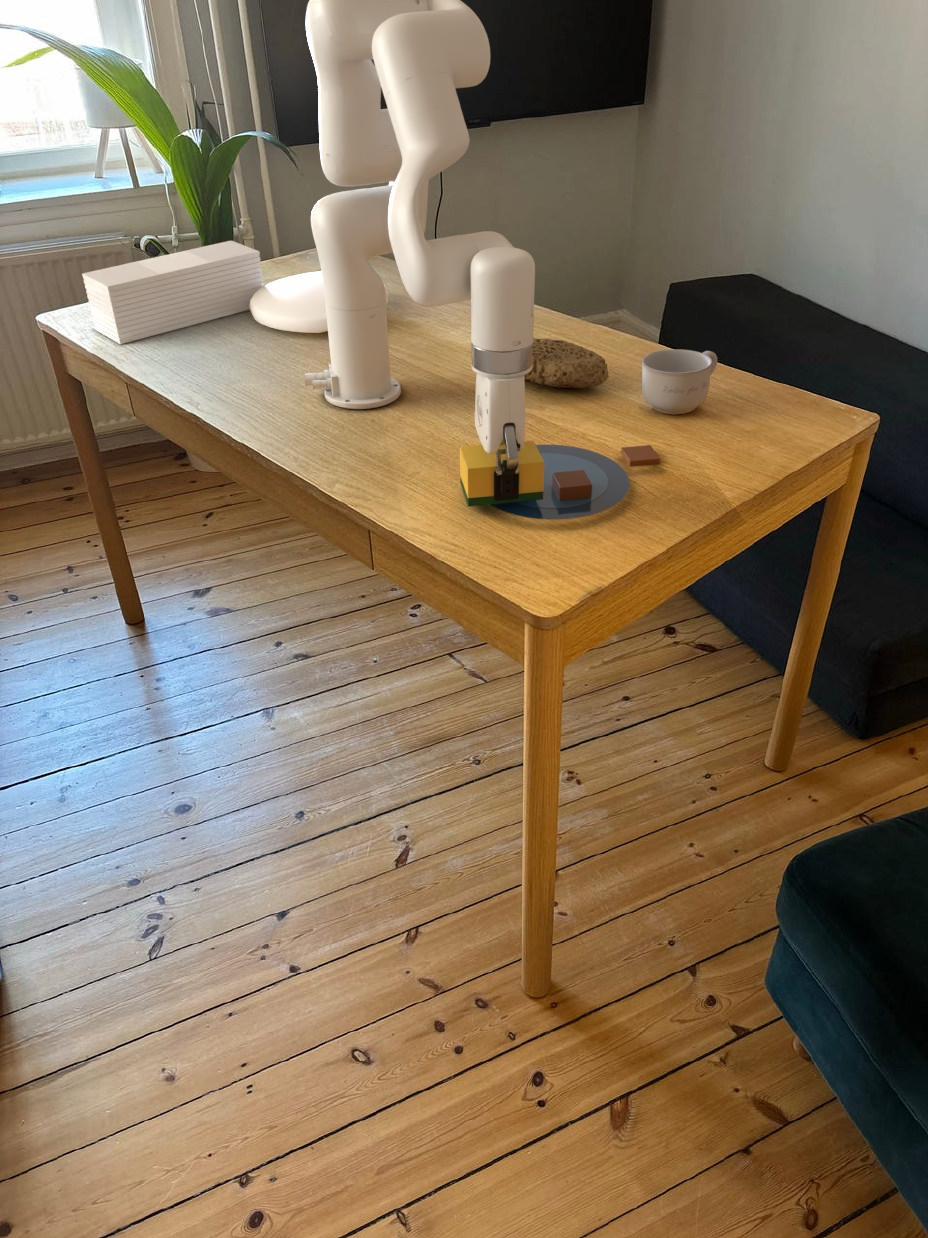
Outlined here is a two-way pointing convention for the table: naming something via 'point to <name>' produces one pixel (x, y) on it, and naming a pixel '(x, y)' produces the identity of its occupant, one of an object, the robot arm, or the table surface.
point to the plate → (294, 304)
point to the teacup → (677, 379)
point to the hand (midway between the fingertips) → (500, 484)
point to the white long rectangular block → (173, 290)
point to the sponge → (566, 365)
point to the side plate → (606, 493)
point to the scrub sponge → (482, 466)
